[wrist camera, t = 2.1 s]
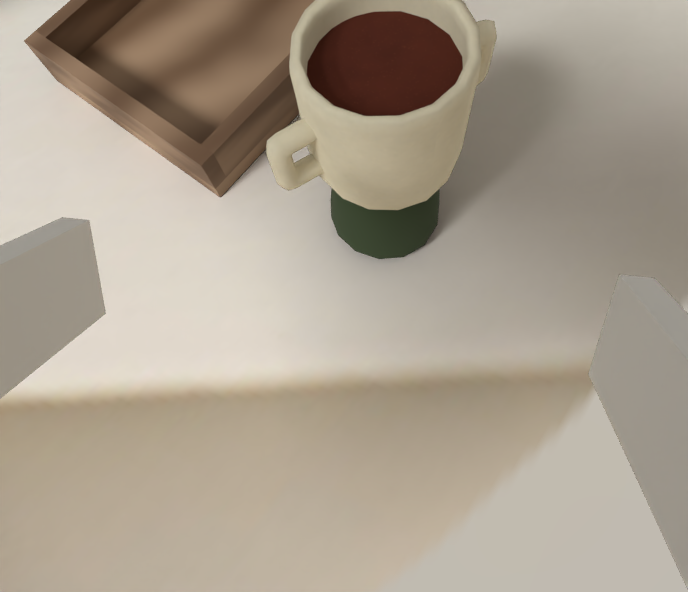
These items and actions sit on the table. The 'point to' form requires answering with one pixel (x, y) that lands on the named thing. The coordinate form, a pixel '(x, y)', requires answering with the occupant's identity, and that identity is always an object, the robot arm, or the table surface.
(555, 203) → the table surface
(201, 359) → the table surface
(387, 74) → the character mug
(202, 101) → the walnut tray
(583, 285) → the table surface
